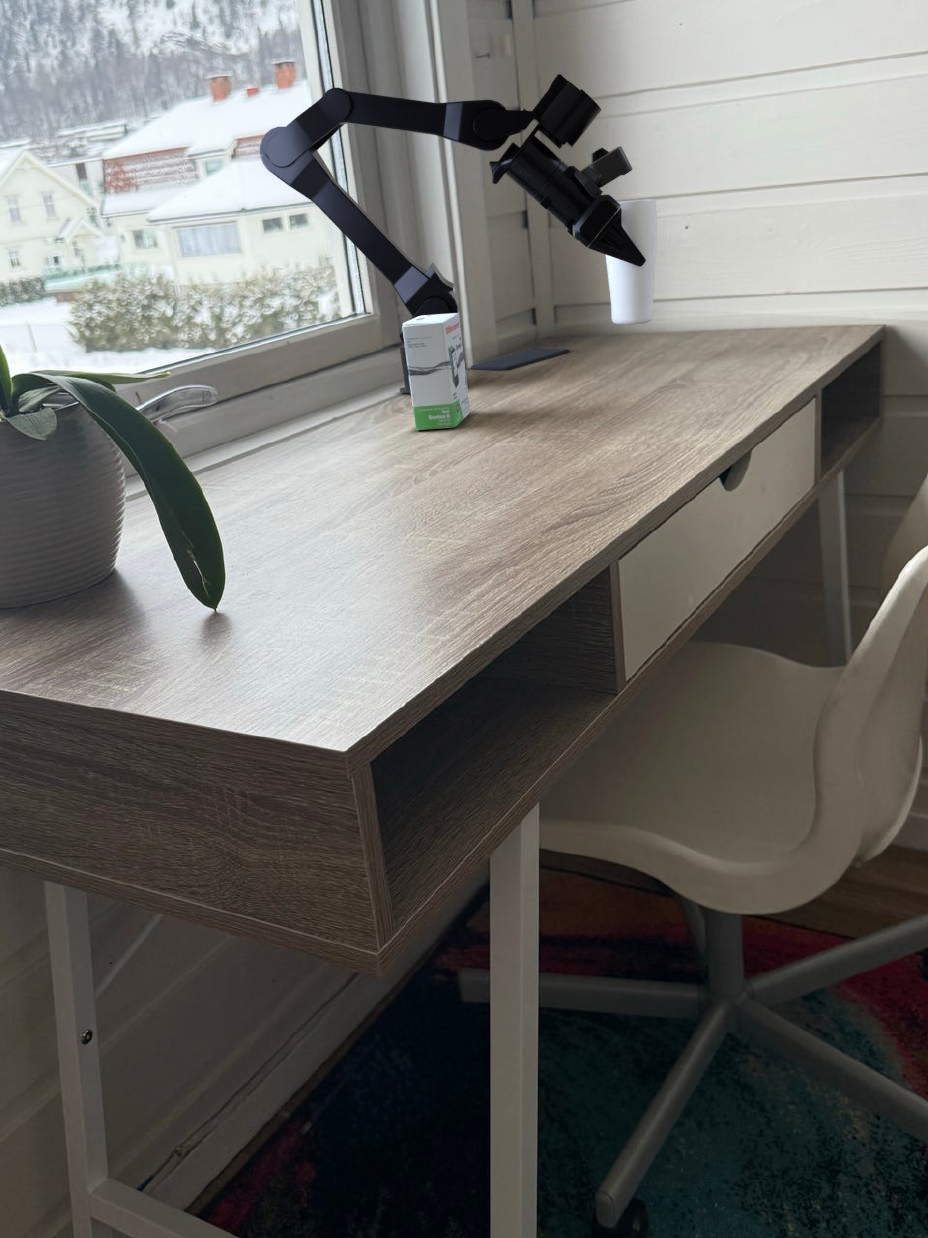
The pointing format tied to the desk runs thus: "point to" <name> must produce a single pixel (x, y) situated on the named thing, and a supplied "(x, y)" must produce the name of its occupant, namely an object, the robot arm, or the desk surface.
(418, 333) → the ink box
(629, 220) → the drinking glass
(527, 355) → the mat
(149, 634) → the desk surface
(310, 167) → the robot arm
